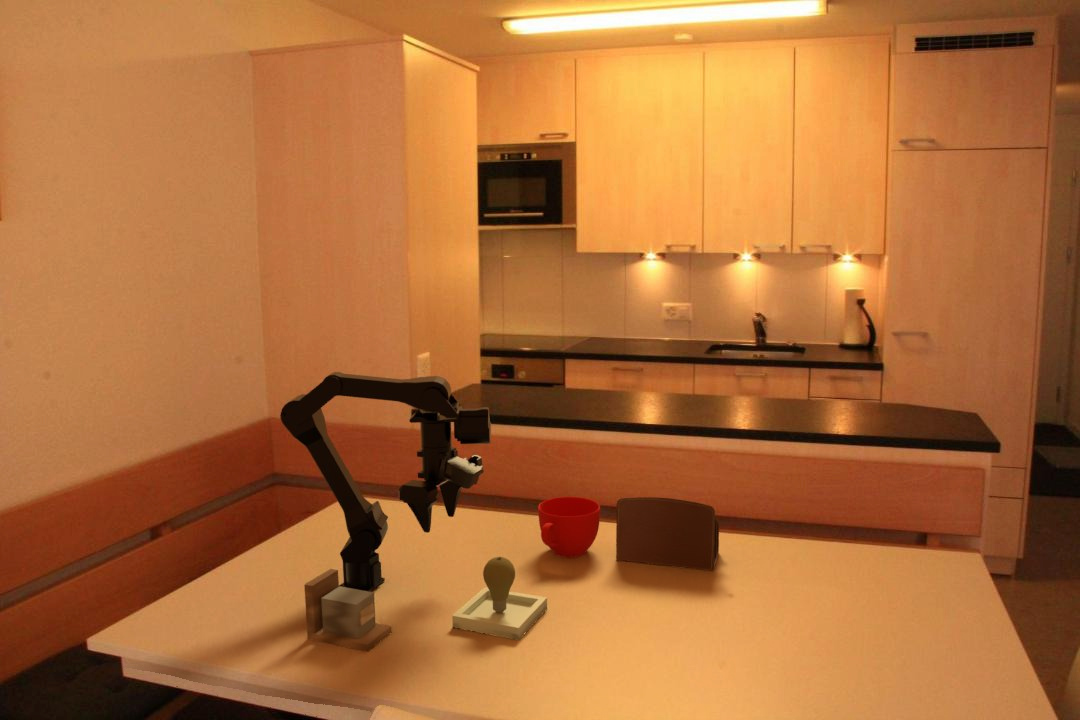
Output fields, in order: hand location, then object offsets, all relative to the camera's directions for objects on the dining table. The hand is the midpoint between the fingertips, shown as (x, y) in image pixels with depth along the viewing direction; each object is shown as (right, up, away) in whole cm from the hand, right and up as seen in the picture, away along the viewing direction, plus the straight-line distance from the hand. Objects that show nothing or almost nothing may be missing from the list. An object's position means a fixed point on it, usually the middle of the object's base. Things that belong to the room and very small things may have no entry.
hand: (439, 524), depth 160 cm
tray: (+12, -14, -13) cm, 23 cm away
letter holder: (+46, -10, +14) cm, 49 cm away
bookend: (-13, -15, -19) cm, 27 cm away
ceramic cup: (+24, -10, +15) cm, 30 cm away
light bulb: (+12, -13, -13) cm, 22 cm away
